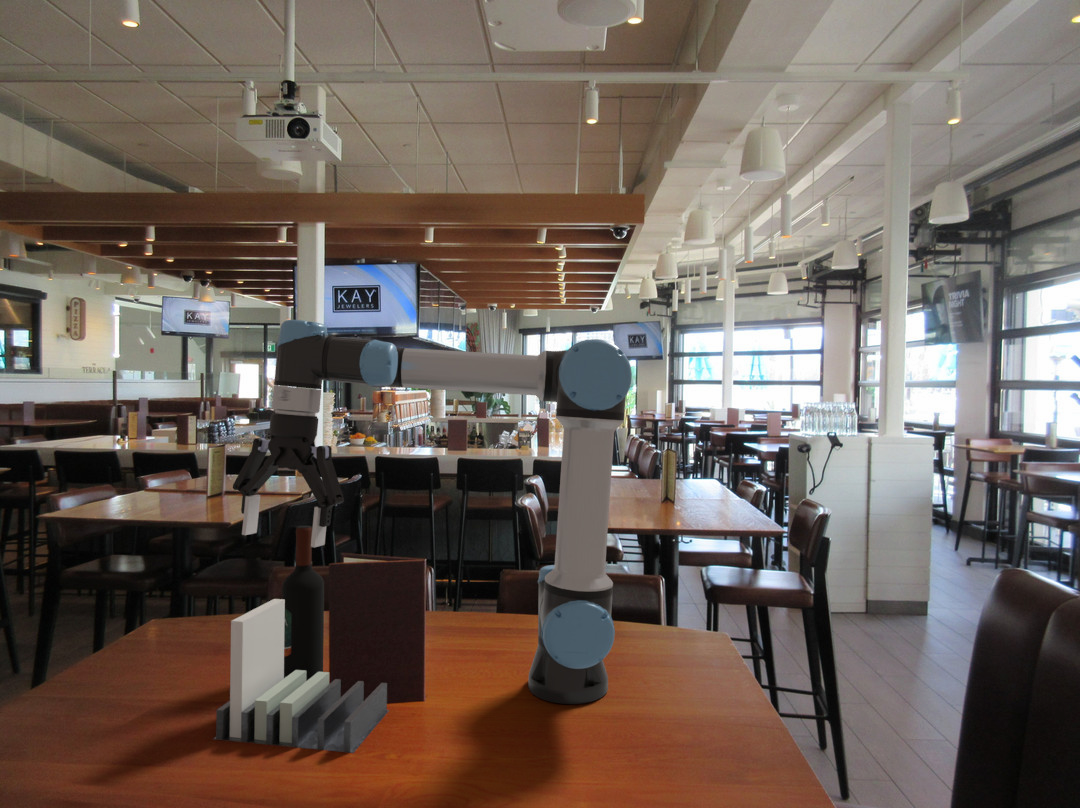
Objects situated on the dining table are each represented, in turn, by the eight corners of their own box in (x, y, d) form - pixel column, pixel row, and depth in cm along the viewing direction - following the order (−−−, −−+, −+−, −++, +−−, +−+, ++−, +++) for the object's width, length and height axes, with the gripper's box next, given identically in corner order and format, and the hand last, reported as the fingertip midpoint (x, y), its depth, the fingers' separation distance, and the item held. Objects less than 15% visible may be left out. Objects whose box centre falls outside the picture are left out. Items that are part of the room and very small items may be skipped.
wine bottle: (309, 695, 120) (311, 531, 120) (272, 691, 122) (274, 529, 122) (330, 678, 127) (332, 524, 128) (295, 674, 129) (297, 522, 129)
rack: (389, 718, 111) (389, 683, 111) (353, 762, 97) (353, 722, 97) (264, 707, 115) (265, 673, 115) (213, 748, 101) (213, 709, 101)
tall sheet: (283, 703, 113) (284, 599, 113) (241, 738, 101) (242, 621, 101) (272, 702, 114) (274, 598, 114) (229, 736, 102) (231, 620, 102)
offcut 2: (328, 707, 112) (329, 672, 112) (291, 742, 100) (292, 703, 100) (318, 706, 112) (318, 671, 112) (279, 741, 100) (279, 702, 100)
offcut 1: (306, 705, 113) (306, 670, 113) (266, 740, 101) (266, 701, 101) (295, 704, 113) (295, 669, 113) (254, 739, 101) (254, 700, 101)
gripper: (217, 406, 110) (205, 532, 109) (347, 420, 102) (334, 555, 102) (249, 407, 117) (238, 525, 116) (372, 420, 110) (360, 546, 109)
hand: (282, 539), depth 109 cm, fingers open, 13 cm apart
